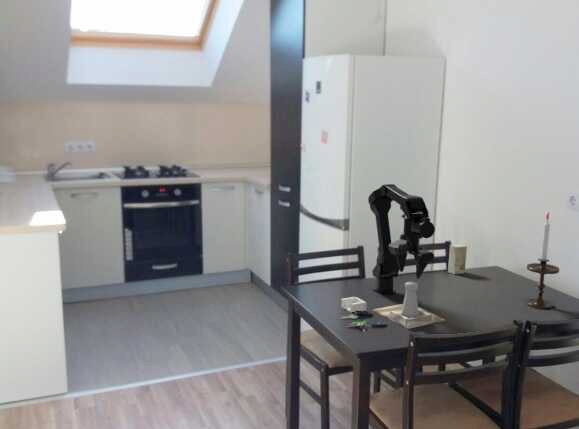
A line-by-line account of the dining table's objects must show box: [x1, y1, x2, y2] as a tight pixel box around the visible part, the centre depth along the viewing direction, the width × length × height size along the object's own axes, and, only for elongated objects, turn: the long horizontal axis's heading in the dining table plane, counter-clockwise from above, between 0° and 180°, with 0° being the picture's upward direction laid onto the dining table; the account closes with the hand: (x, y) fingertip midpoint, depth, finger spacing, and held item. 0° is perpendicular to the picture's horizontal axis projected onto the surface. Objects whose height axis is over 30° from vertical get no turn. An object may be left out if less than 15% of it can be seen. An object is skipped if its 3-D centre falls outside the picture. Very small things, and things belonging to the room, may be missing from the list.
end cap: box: [340, 296, 367, 314], centre depth 212 cm, size 6×7×3 cm
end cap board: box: [372, 303, 446, 329], centre depth 205 cm, size 19×16×3 cm
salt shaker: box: [401, 281, 419, 318], centre depth 199 cm, size 6×6×13 cm
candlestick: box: [526, 211, 560, 310], centre depth 215 cm, size 11×11×35 cm
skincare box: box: [447, 243, 468, 275], centre depth 259 cm, size 6×4×12 cm
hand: (409, 274), depth 213 cm, fingers open, 9 cm apart
